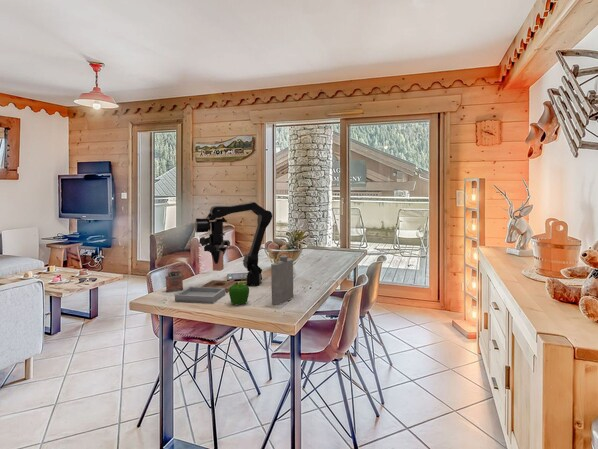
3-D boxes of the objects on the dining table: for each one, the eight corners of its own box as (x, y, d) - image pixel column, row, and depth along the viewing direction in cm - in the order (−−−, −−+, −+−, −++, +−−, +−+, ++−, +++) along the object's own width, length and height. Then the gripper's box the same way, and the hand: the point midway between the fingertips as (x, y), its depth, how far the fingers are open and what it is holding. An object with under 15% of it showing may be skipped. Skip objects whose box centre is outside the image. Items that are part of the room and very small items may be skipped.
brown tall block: (223, 269, 181) (223, 251, 180) (220, 270, 177) (219, 252, 176) (216, 268, 182) (215, 251, 181) (212, 270, 178) (212, 252, 177)
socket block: (237, 284, 187) (237, 281, 186) (227, 292, 173) (227, 288, 173) (212, 283, 189) (212, 280, 189) (200, 291, 175) (200, 287, 175)
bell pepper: (225, 303, 156) (224, 281, 155) (240, 299, 162) (239, 277, 161) (237, 308, 150) (237, 284, 149) (252, 303, 156) (252, 280, 156)
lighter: (166, 292, 173) (165, 272, 172) (165, 291, 176) (164, 271, 175) (183, 290, 177) (183, 270, 176) (182, 288, 180) (181, 269, 179)
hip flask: (288, 294, 169) (288, 252, 167) (296, 295, 167) (295, 253, 165) (270, 304, 155) (269, 258, 153) (278, 305, 153) (277, 259, 151)
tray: (225, 294, 170) (225, 288, 170) (213, 303, 156) (213, 296, 156) (189, 292, 173) (189, 286, 173) (174, 301, 159) (174, 295, 159)
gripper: (209, 229, 188) (210, 258, 189) (193, 233, 170) (194, 266, 171) (230, 229, 186) (230, 259, 187) (215, 233, 168) (216, 266, 169)
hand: (218, 262), depth 179 cm, fingers closed on brown tall block, 4 cm apart
